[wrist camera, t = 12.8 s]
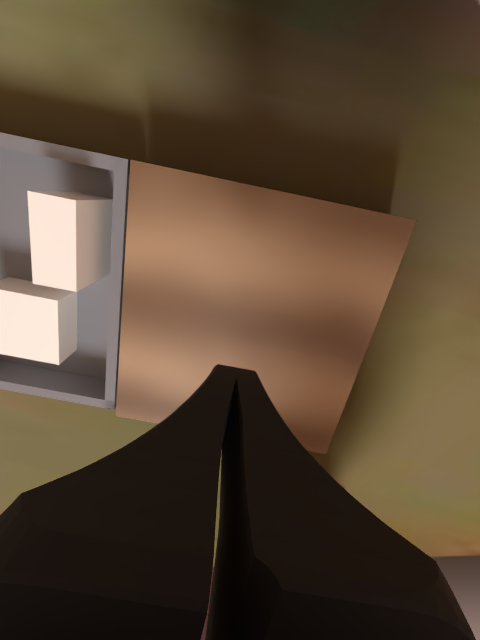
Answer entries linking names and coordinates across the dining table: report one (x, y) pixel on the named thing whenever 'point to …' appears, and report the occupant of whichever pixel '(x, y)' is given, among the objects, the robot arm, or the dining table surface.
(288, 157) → the dining table surface
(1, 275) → the tray
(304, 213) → the board
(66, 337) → the tile
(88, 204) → the tile
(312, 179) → the dining table surface
